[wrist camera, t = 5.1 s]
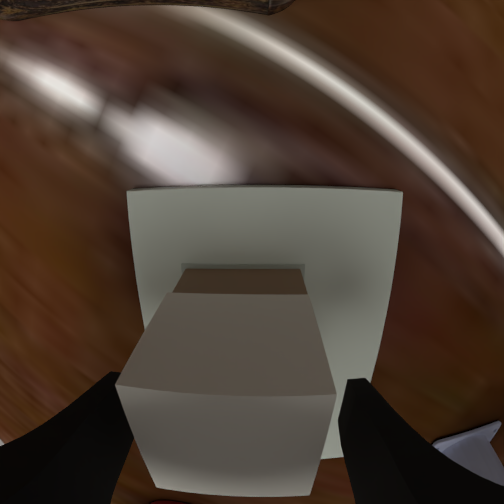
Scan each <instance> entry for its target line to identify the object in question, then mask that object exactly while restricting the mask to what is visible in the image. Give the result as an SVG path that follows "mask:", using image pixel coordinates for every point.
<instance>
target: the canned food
mask: <svg viewBox="0 0 504 504" xmlns="http://www.w3.org/2000/svg"><path fill="white" fill-rule="evenodd" d="M150 504H187V503H182V502H176V501H167V500H161V501H155V502H152V503H150Z"/></svg>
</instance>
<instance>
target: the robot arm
mask: <svg viewBox="0 0 504 504" xmlns="http://www.w3.org/2000/svg"><path fill="white" fill-rule="evenodd" d="M120 374H121V373H119V372H112V371H111V372H109V373H108V374H107V375H106V376H104V377H103V378H102V379H101V380H99V381H98V382H97V383H96V384H95V385H93V386H92V387H91V388H90V389H89V390H87V391H86V392H85V393H84V394H83V395H81V396H80V397H79V398H78V399H76V400H75V401H74V402H73V403H71V404H70V405H69V406H68V407H66V408H65V409H63V410H62V411H61V412H59V413H58V414H57V415H55V416H54V417H52V418H51V419H50V420H48V421H47V422H45V423H44V424H42V425H41V426H39V427H37V428H36V429H34V430H32V431H31V432H29V433H27V434H25V435H24V436H22V437H20V438H18V439H15V440H13V441H11V442H9V443H7V444H4V445H2V446H0V504H110V503H111V498H112V495H113V492H114V489H115V486H116V483H117V480H118V478H119V475H120V473H121V470H122V467H123V465H124V462H125V460H126V457H127V455H128V452H129V450H130V447H131V444H132V442H133V439H134V435H133V433H132V430H131V428H130V425H129V423H128V420H127V417H126V415H125V412H124V409H123V407H122V404H121V401H120V398H119V395H118V392H117V389H116V386H115V384H116V382H117V380H118V378H119V376H120ZM500 426H501V422H500V421H496V422H494V423H491V424H488V425H485V426H483V427H480V428H477V429H474V430H471V431H468V432H464V433H461V434H458V435H454V436H451V437H447V438H444V439H440V440H437V441H436V442H434V443H433V445H431V444H430V443H428V442H427V441H426V440H425V439H424V438H423V437H421V436H420V435H419V434H418V433H417V432H416V431H415V430H414V429H413V428H412V427H411V426H410V425H409V424H408V423H407V422H406V421H405V420H404V419H403V418H402V417H401V416H400V415H399V414H398V413H397V412H396V411H395V410H394V409H393V408H392V407H391V406H390V405H389V404H388V403H387V401H386V400H385V399H384V398H383V397H382V396H381V395H380V394H379V393H378V391H377V390H376V389H375V388H374V387H373V386H372V385H371V383H370V382H369V381H368V380H367V379H366V378H356V379H347V383H346V388H345V392H344V396H343V401H342V405H341V409H340V413H339V417H338V427H339V435H340V442H341V448H342V452H343V456H344V459H345V463H346V467H347V471H348V475H349V478H350V482H351V486H352V490H353V494H354V498H355V503H356V504H504V467H503V465H502V464H501V462H500V460H499V458H498V456H497V455H496V453H495V451H494V449H493V447H492V446H491V444H490V441H491V439H492V438H493V437H494V435H495V434H496V432H497V431H498V429H499V427H500Z"/></svg>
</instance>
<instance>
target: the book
mask: <svg viewBox="0 0 504 504" xmlns="http://www.w3.org/2000/svg"><path fill="white" fill-rule="evenodd" d="M294 1H295V0H0V19H2V20H8V21H18V20H23V19H27V18H32V17H38V16H43V15H49V14H55V13H61V12H67V11H74V10H81V9H89V8H99V7H110V6H126V5H188V6H203V7H215V8H225V9H233V10H241V11H248V12H255V13H261V14H267V15H271V14H275V13H277V12H280V11H282V10H283V9H285V8H287V7H288V6H289V5H291V4H292V3H293V2H294Z"/></svg>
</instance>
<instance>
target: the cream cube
mask: <svg viewBox="0 0 504 504" xmlns="http://www.w3.org/2000/svg"><path fill="white" fill-rule="evenodd" d="M115 386H116V389H117V392H118V395H119V398H120V401H121V404H122V407H123V409H124V412H125V415H126V417H127V420H128V423H129V425H130V428H131V430H132V433H133V435H134V438H135V440H136V443H137V445H138V448H139V450H140V452H141V455H142V457H143V459H144V461H145V464H146V466H147V468H148V470H149V472H150V475H151V477H152V479H153V481H154V483H155V485H156V487H157V488H163V489H169V490H176V491H183V492H191V493H201V494H211V495H225V496H248V497H281V496H303V495H310V492H311V489H312V486H313V482H314V479H315V476H316V473H317V469H318V466H319V462H320V459H321V455H322V452H323V448H324V445H325V441H326V437H327V433H328V429H329V425H330V421H331V417H332V413H333V409H334V405H335V401H336V396H337V393H336V389H335V385H334V381H333V378H332V374H331V370H330V367H329V363H328V359H327V356H326V352H325V349H324V345H323V341H322V338H321V334H320V331H319V327H318V324H317V321H316V317H315V314H314V310H313V307H312V304H311V300H310V297H309V294H301V295H273V294H204V293H171V292H167V293H166V295H165V297H164V299H163V300H162V302H161V304H160V305H159V307H158V309H157V310H156V312H155V314H154V316H153V317H152V319H151V321H150V323H149V324H148V326H147V328H146V329H145V331H144V333H143V335H142V337H141V338H140V340H139V342H138V344H137V345H136V347H135V349H134V351H133V353H132V354H131V356H130V358H129V360H128V362H127V363H126V365H125V367H124V369H123V371H122V372H121V374H120V376H119V378H118V380H117V382H116V384H115Z"/></svg>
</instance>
